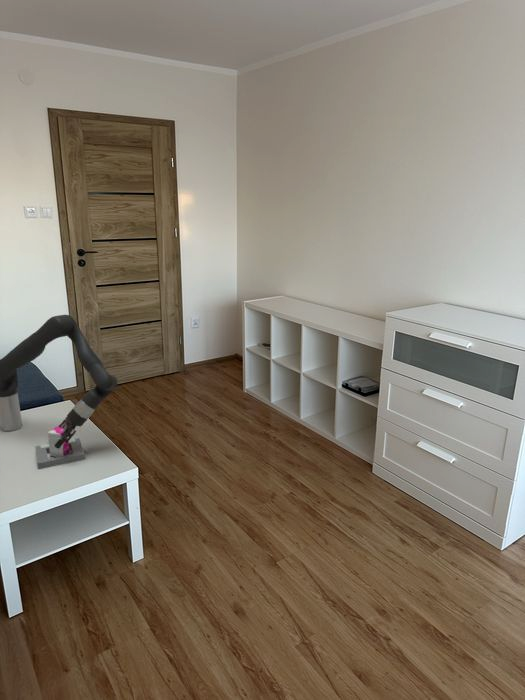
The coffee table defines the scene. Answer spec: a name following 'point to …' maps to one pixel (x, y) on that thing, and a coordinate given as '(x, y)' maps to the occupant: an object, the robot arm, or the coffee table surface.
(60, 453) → the supplement box
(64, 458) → the divided tray
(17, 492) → the coffee table surface
